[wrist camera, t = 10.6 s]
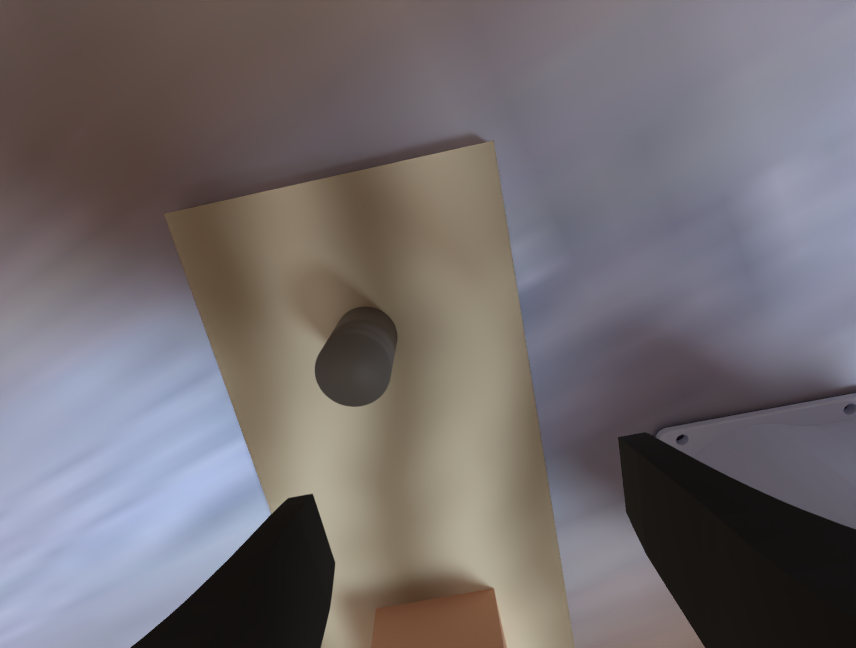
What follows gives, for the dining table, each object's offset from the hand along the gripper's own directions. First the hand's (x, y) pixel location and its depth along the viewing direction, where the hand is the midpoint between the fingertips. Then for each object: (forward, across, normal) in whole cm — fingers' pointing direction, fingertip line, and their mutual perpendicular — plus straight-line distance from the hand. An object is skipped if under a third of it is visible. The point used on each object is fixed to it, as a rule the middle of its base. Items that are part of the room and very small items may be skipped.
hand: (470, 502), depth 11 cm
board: (+9, +3, +6) cm, 12 cm away
